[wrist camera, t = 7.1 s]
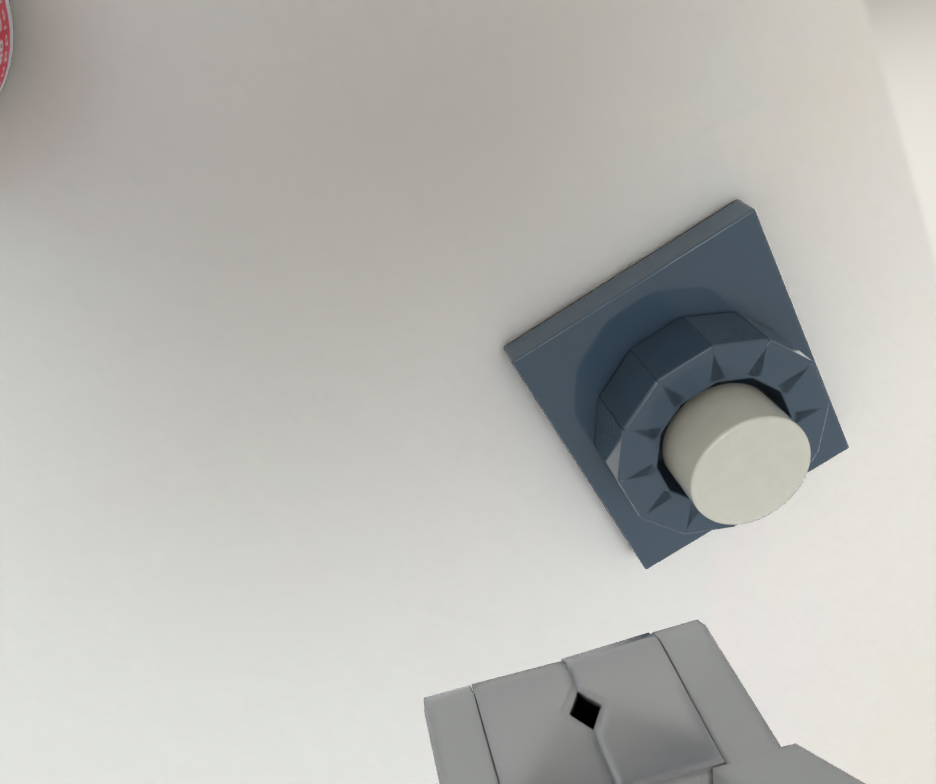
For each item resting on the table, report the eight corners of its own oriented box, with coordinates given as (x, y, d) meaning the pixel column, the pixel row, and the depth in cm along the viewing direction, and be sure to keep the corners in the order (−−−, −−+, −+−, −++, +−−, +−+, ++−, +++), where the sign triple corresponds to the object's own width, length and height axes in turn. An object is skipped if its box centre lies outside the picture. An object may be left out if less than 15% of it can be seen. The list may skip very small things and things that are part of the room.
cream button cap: (642, 425, 25) (672, 464, 24) (751, 358, 25) (789, 393, 23) (687, 505, 27) (718, 546, 25) (789, 443, 27) (827, 481, 25)
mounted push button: (502, 347, 26) (531, 396, 23) (737, 198, 25) (793, 231, 23) (635, 552, 31) (670, 610, 29) (832, 432, 31) (886, 481, 28)
